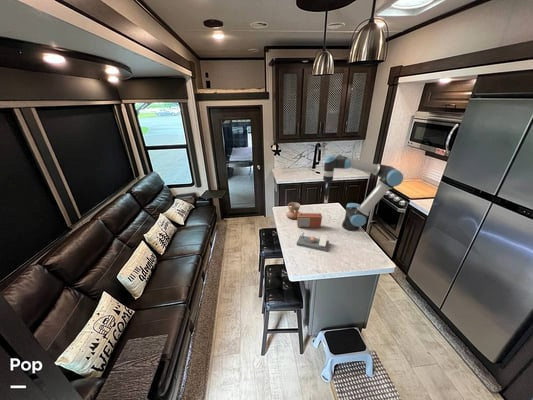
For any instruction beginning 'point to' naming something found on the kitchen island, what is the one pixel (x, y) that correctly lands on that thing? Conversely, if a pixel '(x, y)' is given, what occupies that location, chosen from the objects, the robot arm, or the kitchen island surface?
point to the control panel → (309, 220)
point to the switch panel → (311, 243)
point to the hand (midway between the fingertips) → (325, 202)
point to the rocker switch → (323, 240)
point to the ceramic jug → (293, 210)
